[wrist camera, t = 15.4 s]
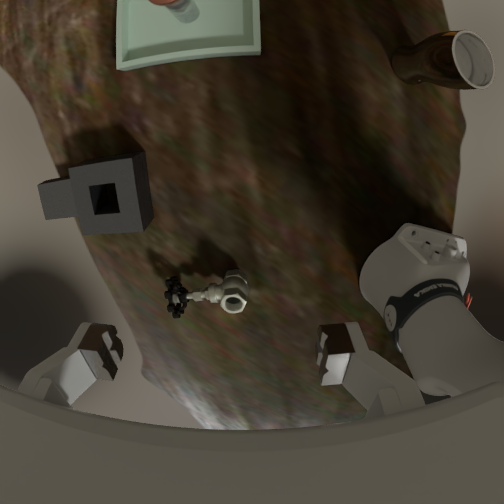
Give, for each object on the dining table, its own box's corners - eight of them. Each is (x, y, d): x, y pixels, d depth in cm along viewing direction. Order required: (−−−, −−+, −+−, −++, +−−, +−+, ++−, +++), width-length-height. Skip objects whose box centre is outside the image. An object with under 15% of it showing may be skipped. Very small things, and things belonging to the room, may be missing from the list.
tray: (257, -31, 24) (257, -40, 22) (260, 55, 31) (260, 51, 28) (126, -13, 25) (118, -19, 22) (125, 70, 31) (116, 69, 29)
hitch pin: (204, -2, 26) (188, -35, 16) (205, 25, 28) (188, -1, 19) (171, 3, 26) (144, -26, 17) (171, 30, 28) (143, 7, 19)
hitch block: (145, 150, 37) (131, 158, 33) (154, 217, 42) (143, 231, 37) (43, 169, 37) (25, 178, 33) (56, 224, 42) (40, 238, 38)
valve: (244, 258, 45) (170, 268, 46) (243, 283, 40) (160, 293, 40) (251, 293, 48) (182, 301, 49) (251, 319, 43) (174, 327, 44)
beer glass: (378, 56, 30) (439, 42, 17) (409, 35, 28) (473, 19, 15) (407, 96, 33) (474, 102, 20) (435, 74, 30) (504, 75, 17)
